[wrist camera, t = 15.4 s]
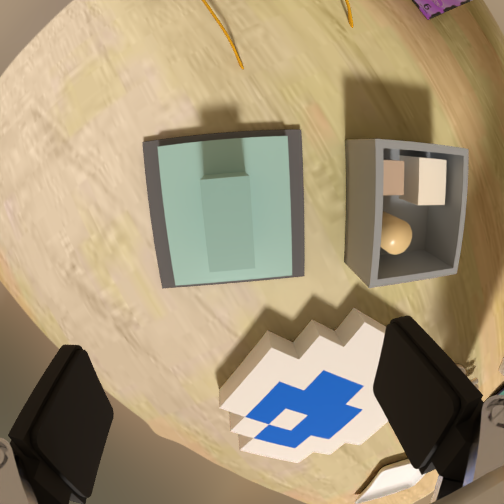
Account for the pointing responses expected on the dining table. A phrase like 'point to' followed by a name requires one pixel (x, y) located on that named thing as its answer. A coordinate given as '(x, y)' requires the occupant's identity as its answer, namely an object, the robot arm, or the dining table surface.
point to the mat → (152, 146)
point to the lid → (227, 209)
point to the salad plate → (391, 481)
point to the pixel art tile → (307, 390)
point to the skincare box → (502, 367)
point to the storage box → (404, 210)
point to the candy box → (437, 6)
